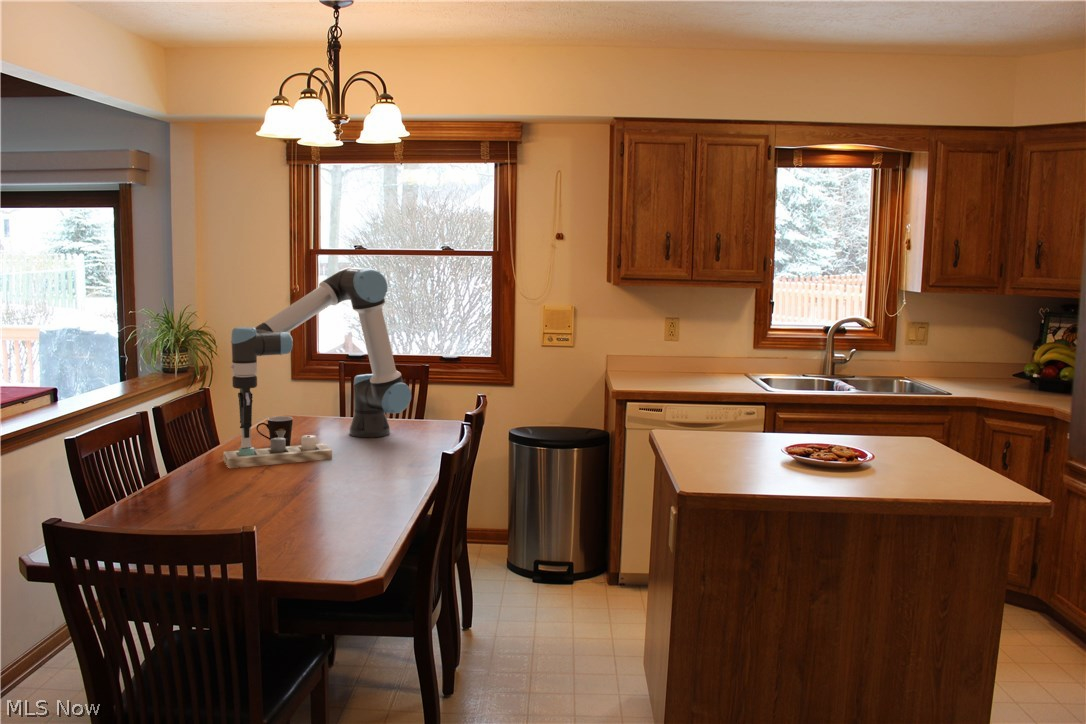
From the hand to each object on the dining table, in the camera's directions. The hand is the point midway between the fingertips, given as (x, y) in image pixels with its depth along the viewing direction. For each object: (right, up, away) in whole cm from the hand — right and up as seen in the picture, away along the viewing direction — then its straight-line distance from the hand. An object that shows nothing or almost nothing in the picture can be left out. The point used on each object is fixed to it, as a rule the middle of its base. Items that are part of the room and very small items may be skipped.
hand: (246, 446), depth 276 cm
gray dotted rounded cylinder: (+9, -2, +5) cm, 10 cm away
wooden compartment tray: (+9, -5, +5) cm, 11 cm away
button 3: (0, -5, +1) cm, 5 cm away
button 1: (+18, -2, +10) cm, 20 cm away
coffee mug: (+2, -2, +24) cm, 25 cm away
